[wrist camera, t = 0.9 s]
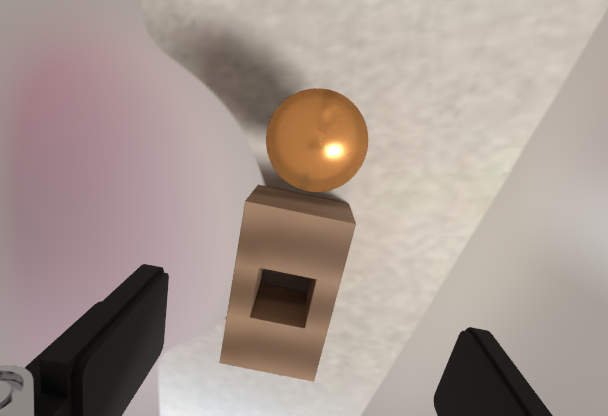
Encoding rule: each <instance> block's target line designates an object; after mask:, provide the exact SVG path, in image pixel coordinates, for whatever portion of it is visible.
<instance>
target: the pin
mask: <svg viewBox="0 0 608 416" xmlns="http://www.w3.org/2000/svg"><path fill="white" fill-rule="evenodd" d="M266 146H267V152H268V156H269V159H270V161H271V164H272V165H273V167H274V169H275V170H276V172H277V173H278V174H279V175H280V176H281V177H282V178H283V179H284V180H285V181H286V182H287V183H289V184H290V185H292V186H294V187H296V188H298V189H301V190H305V191H310V192H324V191H329V190H333V189H335V188H338V187H340V186H342V185H343V184H345V183H346V182H348V181H349V180H350V179H351V178H352V177H353V176H354V175H355V174H356V173H357V172H358V170H359V169H360V167H361V166H362V164H363V161H364V159H365V156H366V153H367V148H368V132H367V127H366V123H365V121H364V118H363V116H362V114H361V113H360V111H359V110H358V108H357V107H356V106H355V105H354V104H353V103H352V102H351V101H350V100H349V99H348V98H346V97H345V96H343V95H341V94H339V93H337V92H335V91H331V90H328V89H307V90H304V91H300V92H298V93H296V94H294V95H292V96H290V97H289V98H287V99H286V100H285V101H284V102H283V103H282V104H281V105H280V106H279V107H278V108H277V110H276V111H275V112H274V114H273V116H272V118H271V120H270V123H269V125H268V129H267V136H266Z"/></svg>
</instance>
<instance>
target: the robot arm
mask: <svg viewBox="0 0 608 416" xmlns="http://www.w3.org/2000/svg"><path fill="white" fill-rule="evenodd" d="M168 279H169V276H168V274H167V273H164V270H163V268H162V267H157V266H152V265H146V264H143V265H141V266H140V267H139V268H138V269H137V270H136V271H135V272H134V273H133V274H132V275H130V276H129V277H128V278H127V279H126V280H125V281H124V282H123V283H122V284H121V285H120V286H118V287H117V288H116V289H115V290H114V291H113V292H112V293H111V294H110V295H109V296H108V297H106V299H104V300H103V301H101V302H98V303H97V304H95V305H94V306H93V307H92V308H90V309H89V310H88V311H87V312H86V313H85V314H84V315H83V316H82V317H81V318H79V319H78V320H77V321H76V322H75V323H74V324H73V325H72V326H70V327H69V328H68V329H67V330H66V331H65V332H64V333H63V334H62V335H61V336H60V337H58V338H57V339H56V340H55V341H54V342H53V343H52V344H51V345H49V346H48V347H47V348H46V349H45V350H44V351H43V352H42V353H41V354H39V355H38V356H37V357H36V358H35V359H34V360H33V361H32V362H31V363H30V364H28V365H27V366H26V367H25V368H22V367H18V366H0V416H122V414H123V413H124V411H125V410H126V408H127V406H128V405H129V403H130V402H131V400H132V398H133V397H134V395H135V394H136V392H137V390H138V389H139V387H140V386H141V384H142V383H143V381H144V380H145V378H146V376H147V375H148V373H149V372H150V370H151V368H152V366H153V365H154V364H155V362H156V360H157V359H158V357H159V356H160V353H161V351H162V349H163V344H164V333H165V318H166V307H167V293H168ZM434 407H435V410H436V412H437V415H438V416H552V414H551V413H550V412H549V410H548V409H547V408H546V406H545V405H544V404H543V402H542V401H541V399H540V398H539V397H538V396H537V394H536V393H535V391H534V390H533V389H532V388H531V386H530V385H529V383H528V382H527V381H526V379H525V378H524V377H523V375H522V374H521V373H520V371H519V370H518V369H517V367H516V366H515V365H514V363H513V362H512V361H511V359H510V358H509V357H508V355H507V354H506V353H505V351H504V350H503V349H502V347H501V346H500V344H499V343H498V342H497V340H496V339H495V338H494V336H493V335H492V334H491V333H490V332H489V331H487V330H481V329H476V328H471V327H469V328H467V329H466V330H465V331H462V332H461V333H460V334H459V337H458V339H457V342H456V344H455V346H454V349H453V351H452V353H451V356H450V358H449V361H448V363H447V366H446V368H445V370H444V373H443V375H442V378H441V380H440V383H439V385H438V387H437V390H436V392H435V395H434Z"/></svg>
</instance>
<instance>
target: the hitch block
mask: <svg viewBox="0 0 608 416" xmlns="http://www.w3.org/2000/svg"><path fill="white" fill-rule="evenodd" d="M355 226H356V223H355V220H354V217H353V214H352V211H351V208H350V205H349V204H348V203H343V202H338V201H334V200H329V199H324V198H319V197H314V196H310V195H305V194H300V193H295V192H290V191H286V190H281V189H276V188H271V187H267V186H262V185H258V186H257V187H256V188H255V190H254V191H253V192H252V193H251V195H250V196H249V197H248V198H247V200H246V201H245V206H244V213H243V219H242V225H241V231H240V237H239V244H238V250H237V256H236V262H235V269H234V275H233V281H232V287H231V294H230V300H229V306H228V313H227V319H226V325H225V331H224V338H223V344H222V350H221V356H220V363H222V364H227V365H232V366H237V367H242V368H247V369H253V370H258V371H263V372H268V373H273V374H278V375H283V376H288V377H293V378H298V379H304V380H309V381H314V379H315V376H316V372H317V368H318V364H319V361H320V357H321V353H322V349H323V346H324V342H325V338H326V334H327V331H328V327H329V323H330V319H331V316H332V312H333V308H334V304H335V301H336V297H337V293H338V289H339V286H340V282H341V278H342V274H343V271H344V267H345V263H346V259H347V256H348V252H349V248H350V244H351V241H352V237H353V233H354V230H355ZM263 269H268V270H273V271H278V272H283V273H288V274H293V275H298V276H303V277H308V278H310V281H309V286H308V290H307V293H306V292H301V291H296V290H291V289H286V288H281V287H276V286H271V285H266V284H261V279H262V274H263Z"/></svg>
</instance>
